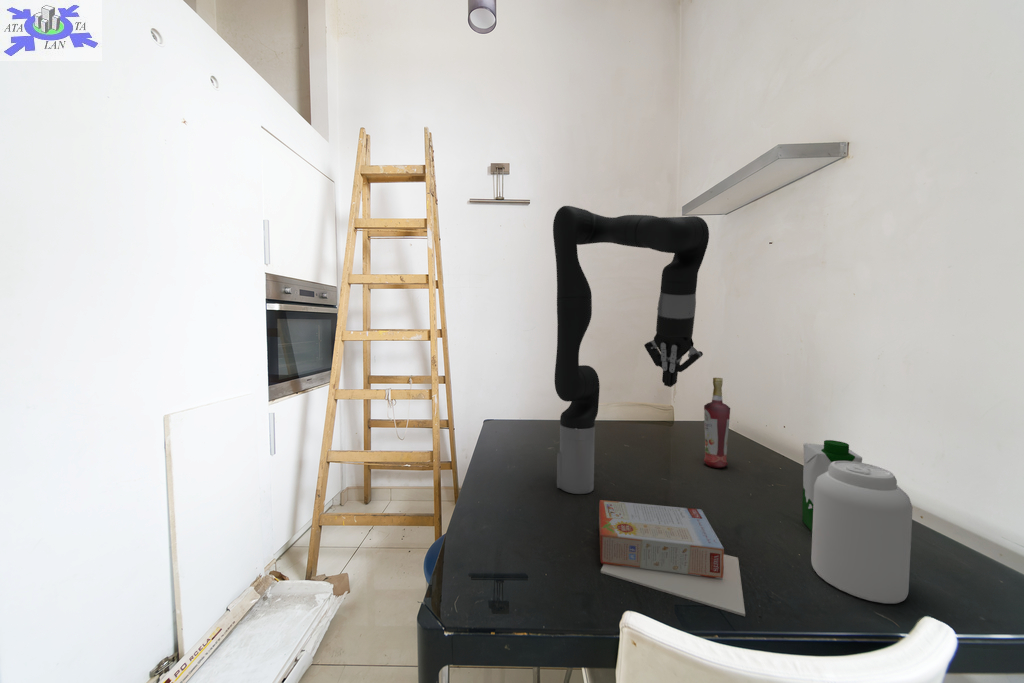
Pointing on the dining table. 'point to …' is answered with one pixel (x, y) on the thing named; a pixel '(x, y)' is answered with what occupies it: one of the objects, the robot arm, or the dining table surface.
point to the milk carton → (820, 470)
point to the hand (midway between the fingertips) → (668, 385)
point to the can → (862, 532)
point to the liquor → (716, 428)
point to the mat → (690, 584)
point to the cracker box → (659, 539)
